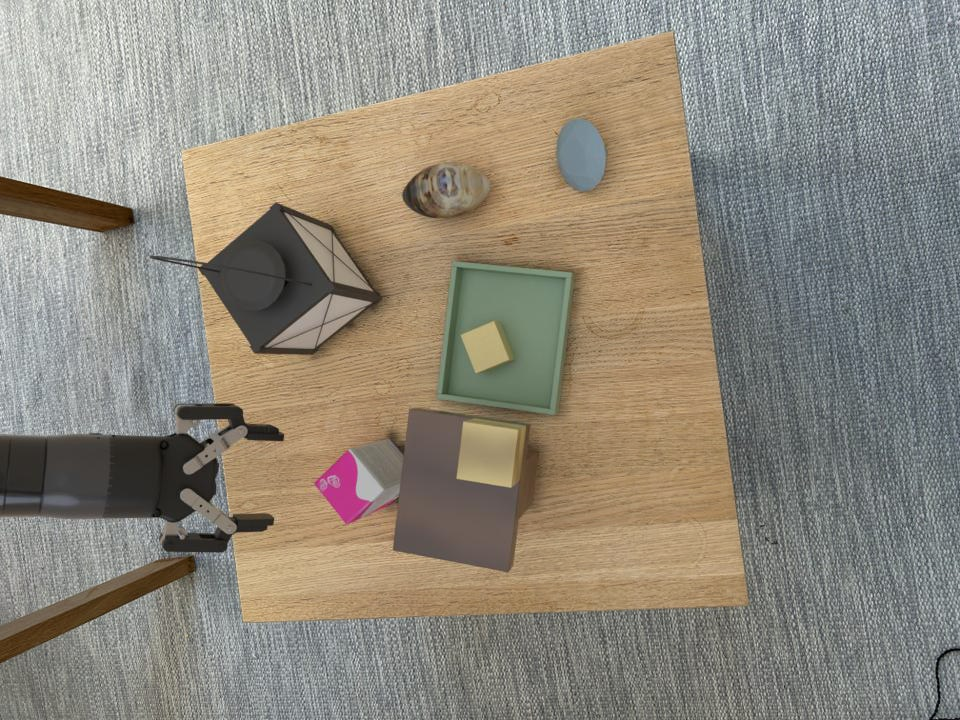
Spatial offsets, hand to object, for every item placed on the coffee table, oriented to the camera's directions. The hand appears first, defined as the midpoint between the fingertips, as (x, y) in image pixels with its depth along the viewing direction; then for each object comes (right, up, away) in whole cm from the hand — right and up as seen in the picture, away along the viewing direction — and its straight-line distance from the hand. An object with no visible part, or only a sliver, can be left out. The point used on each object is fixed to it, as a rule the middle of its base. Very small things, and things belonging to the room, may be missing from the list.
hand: (277, 477), depth 78 cm
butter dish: (+24, +14, +8) cm, 29 cm away
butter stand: (+24, +1, +8) cm, 25 cm away
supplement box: (+10, -1, +11) cm, 15 cm away
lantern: (+2, +20, +13) cm, 24 cm away
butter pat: (+21, +13, +4) cm, 25 cm away
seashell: (+18, +30, +9) cm, 36 cm away
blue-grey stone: (+32, +33, +6) cm, 47 cm away
